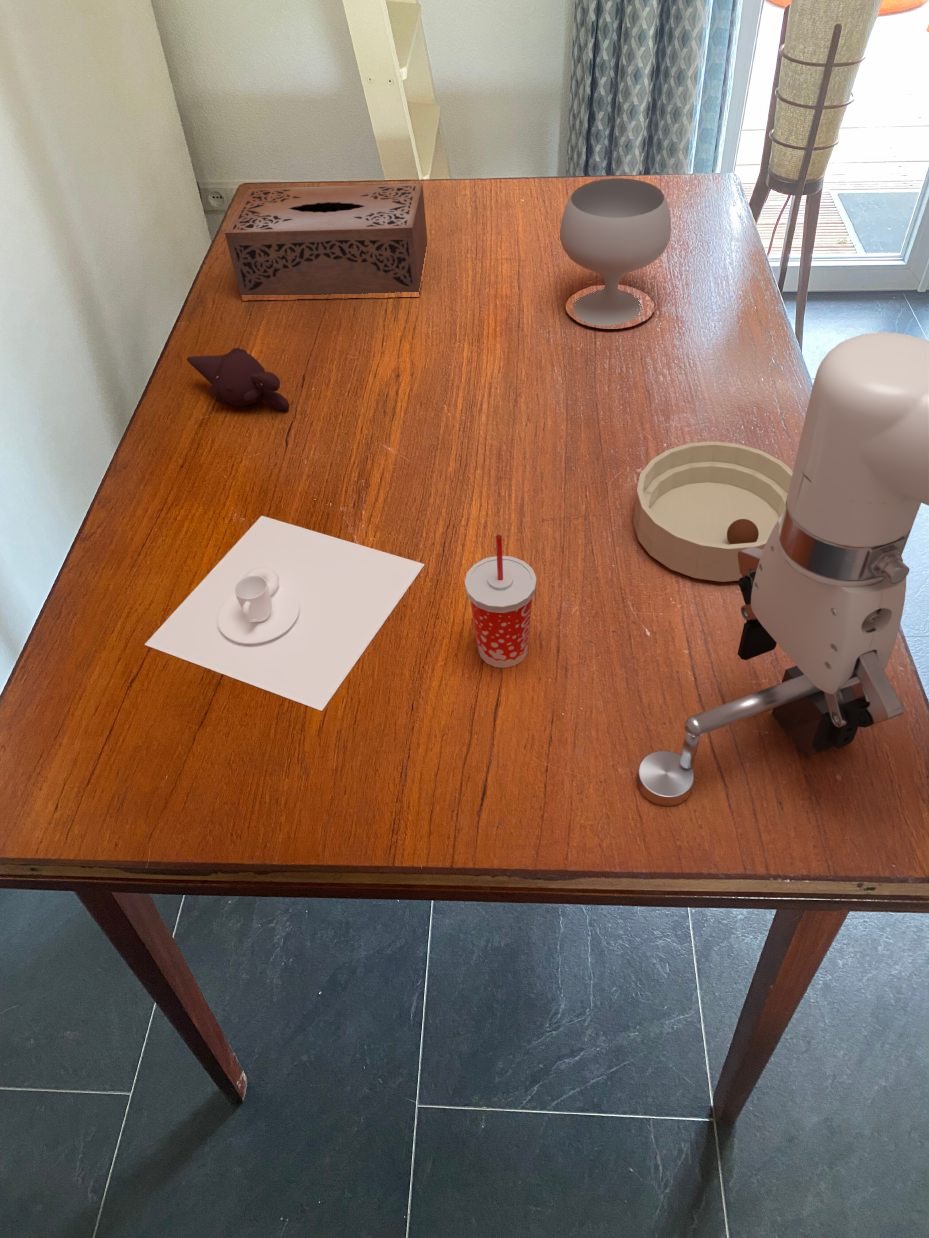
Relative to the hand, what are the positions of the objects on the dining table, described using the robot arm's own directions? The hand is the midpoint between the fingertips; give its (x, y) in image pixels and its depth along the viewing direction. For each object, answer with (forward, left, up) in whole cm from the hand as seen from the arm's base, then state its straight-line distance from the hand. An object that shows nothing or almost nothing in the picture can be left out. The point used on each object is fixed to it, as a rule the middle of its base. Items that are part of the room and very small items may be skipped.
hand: (792, 695), depth 70 cm
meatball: (-10, -21, -5) cm, 24 cm away
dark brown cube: (-4, 0, -7) cm, 8 cm away
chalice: (-21, -69, -7) cm, 72 cm away
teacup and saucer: (+33, -33, -7) cm, 47 cm away
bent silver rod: (+3, -1, -7) cm, 8 cm away
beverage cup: (+16, -19, -7) cm, 26 cm away
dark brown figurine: (+30, -70, -7) cm, 77 cm away
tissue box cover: (+10, -96, -7) cm, 97 cm away
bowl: (-10, -25, -7) cm, 28 cm away
